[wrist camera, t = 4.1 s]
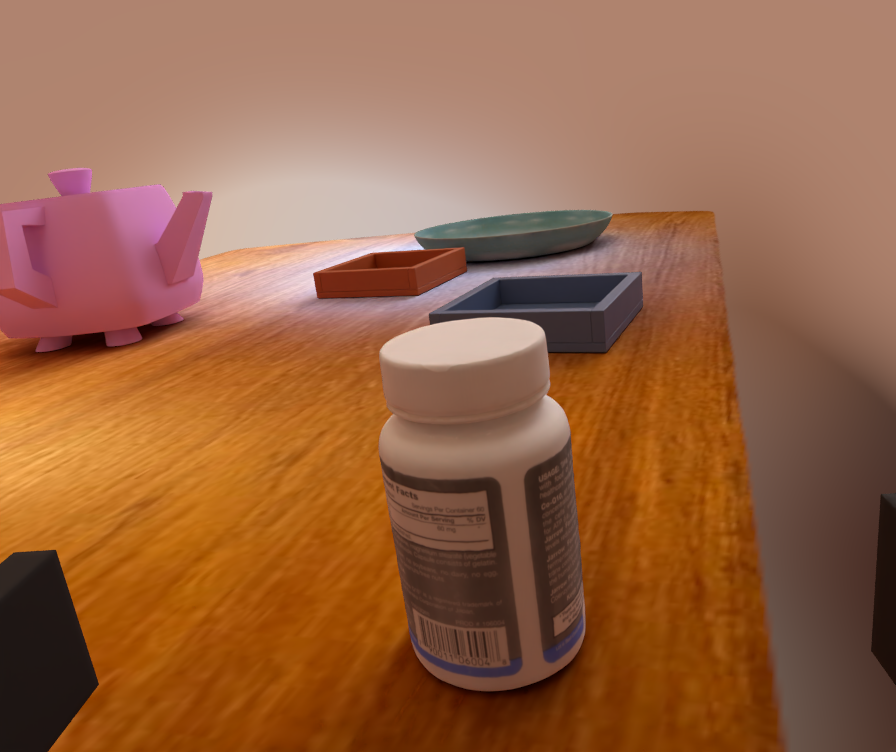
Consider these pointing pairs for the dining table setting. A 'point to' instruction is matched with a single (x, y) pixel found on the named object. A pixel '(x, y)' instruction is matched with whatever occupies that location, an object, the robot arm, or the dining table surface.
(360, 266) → the burnt orange tray
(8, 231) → the teapot
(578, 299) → the blue tray
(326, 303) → the dining table surface
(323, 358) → the dining table surface
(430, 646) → the pill bottle
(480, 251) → the saucer
